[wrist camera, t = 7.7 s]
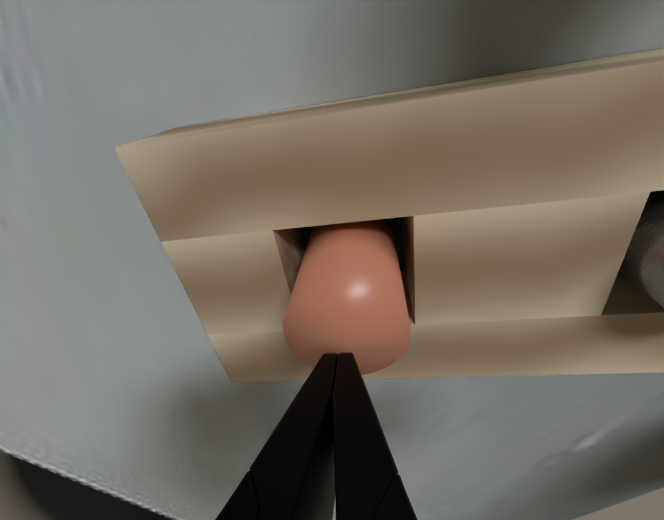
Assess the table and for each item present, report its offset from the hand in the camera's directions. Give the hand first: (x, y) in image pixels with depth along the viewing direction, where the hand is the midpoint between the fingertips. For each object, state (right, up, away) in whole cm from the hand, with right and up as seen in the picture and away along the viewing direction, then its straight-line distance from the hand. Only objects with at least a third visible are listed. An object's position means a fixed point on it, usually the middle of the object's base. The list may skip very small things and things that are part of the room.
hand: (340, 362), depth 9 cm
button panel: (+7, +5, +6) cm, 10 cm away
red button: (+1, +3, +6) cm, 7 cm away
